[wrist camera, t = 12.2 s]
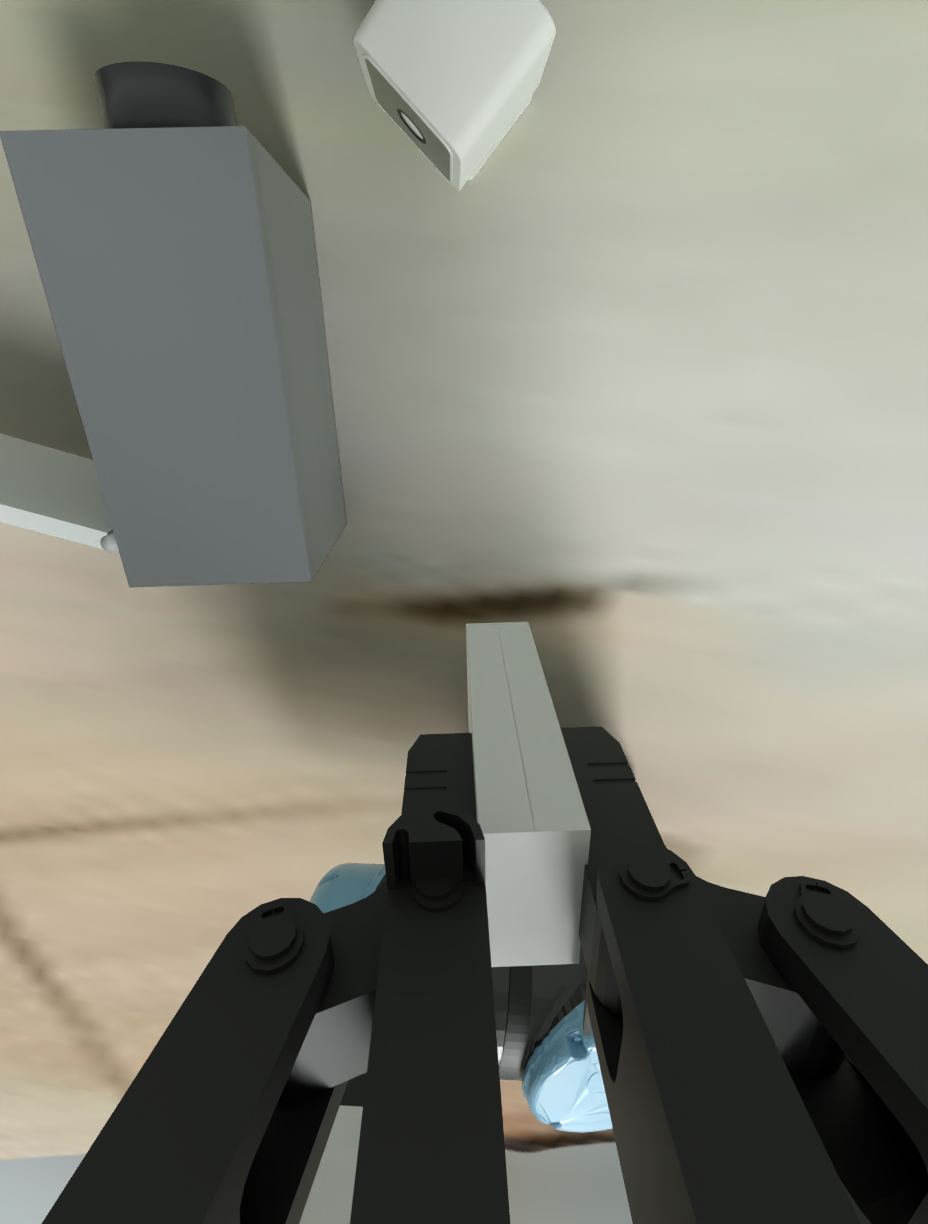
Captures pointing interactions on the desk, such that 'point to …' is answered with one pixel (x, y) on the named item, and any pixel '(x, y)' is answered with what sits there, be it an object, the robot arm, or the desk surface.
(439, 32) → the security camera
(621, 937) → the robot arm
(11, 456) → the hinged cabinet door
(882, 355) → the desk surface
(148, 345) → the camera body
